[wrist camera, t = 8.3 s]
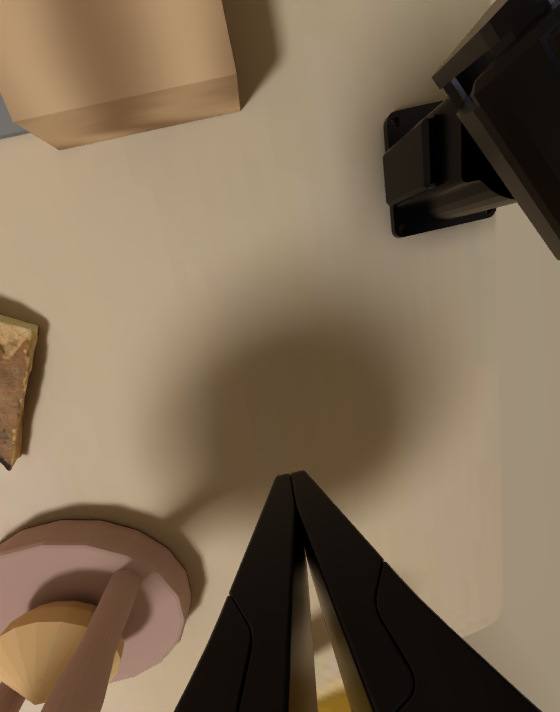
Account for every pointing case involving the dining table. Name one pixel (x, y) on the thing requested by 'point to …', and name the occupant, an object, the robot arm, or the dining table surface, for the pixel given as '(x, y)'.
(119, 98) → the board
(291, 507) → the robot arm
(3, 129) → the mat
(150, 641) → the hourglass
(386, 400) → the dining table surface
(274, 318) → the dining table surface
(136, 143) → the dining table surface
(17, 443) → the shard
